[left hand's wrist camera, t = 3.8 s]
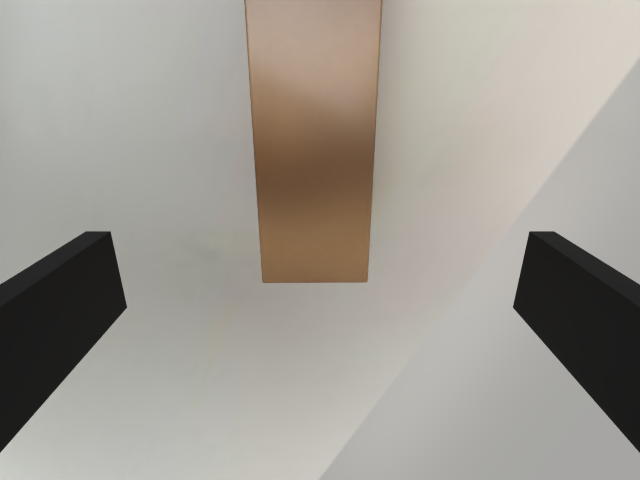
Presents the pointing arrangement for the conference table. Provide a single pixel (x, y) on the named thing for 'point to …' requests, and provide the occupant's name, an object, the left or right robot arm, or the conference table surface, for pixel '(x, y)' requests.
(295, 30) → the bar
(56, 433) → the conference table surface
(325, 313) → the conference table surface
